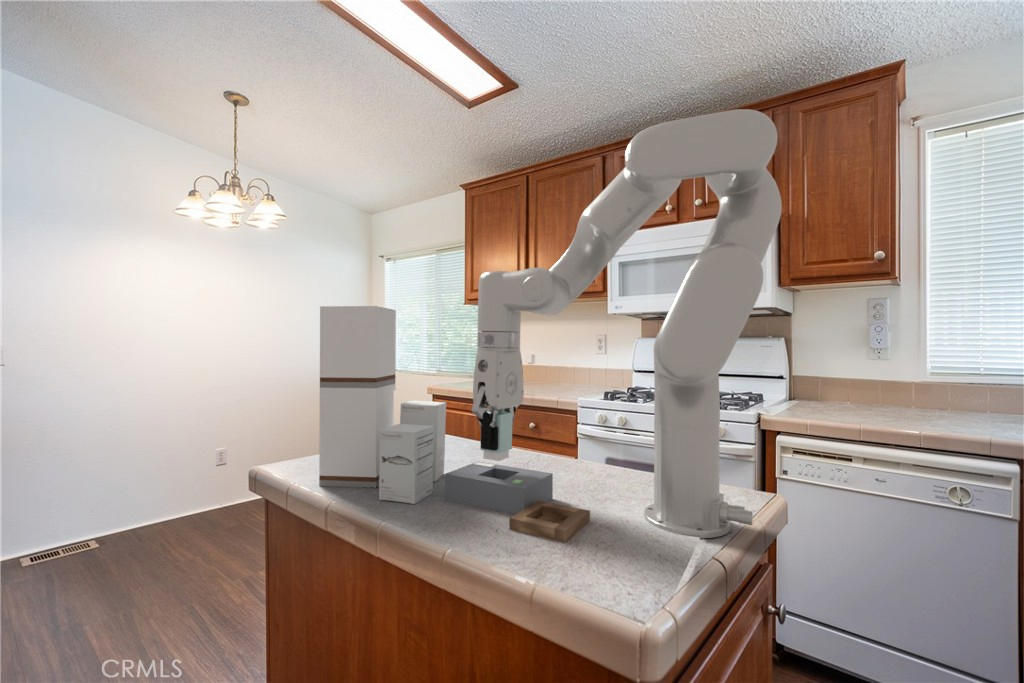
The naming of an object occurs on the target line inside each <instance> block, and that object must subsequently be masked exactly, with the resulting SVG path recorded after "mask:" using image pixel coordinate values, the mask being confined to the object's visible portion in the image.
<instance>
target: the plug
mask: <svg viewBox="0 0 1024 683" xmlns="http://www.w3.org/2000/svg"><path fill="white" fill-rule="evenodd" d="M489 408H493V406H489ZM487 412H488V414H489V415H490V417H491V412H490V411H487ZM512 418H513V412H506V411H504V409H501V410H498V413H497V421H496V426H495V427H498V449H497V450H495V451H493V450H487V449H482V448H481V445H480V451H483V460H489V461H494V462H495V461H496V462H501V461H502V460H505V459H508V458H509V456H510V455H509V454H510V452H509V451H510V450H512V449H513V424H512V423H513V422H512Z"/></svg>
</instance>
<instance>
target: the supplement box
mask: <svg viewBox="0 0 1024 683" xmlns="http://www.w3.org/2000/svg"><path fill="white" fill-rule="evenodd" d="M433 434H434V426H425V425H411V424H400V423H397V424H393V426H390V427H387V428H384V429H381V430H380V466H379V486H378V488H379V489H378V490H379V491H378V500H379V501H388V502H389V501H390V502H391V501H392V502H398V503H406V504H411V505H416V504H418V503H419V502H420V501H422V500H423V499H425V498H426V497H428V496H430V494H433V490H434V488H433V484H434V482H433Z"/></svg>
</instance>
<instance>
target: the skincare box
mask: <svg viewBox="0 0 1024 683" xmlns="http://www.w3.org/2000/svg"><path fill="white" fill-rule="evenodd" d="M399 416H400V417H399V418H400V419H399V424H411V425H425V426H434V434H433V481H434V482H433V483H436V482H437V481H438V480H439V479H440V478H441V477H442V476H444V475H445V452H446V449H445V448H446V421H447V420H446V418H447V402H444V401H431V400H430V401H429V400H409V401H405V402H402V403H400V415H399Z"/></svg>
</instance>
